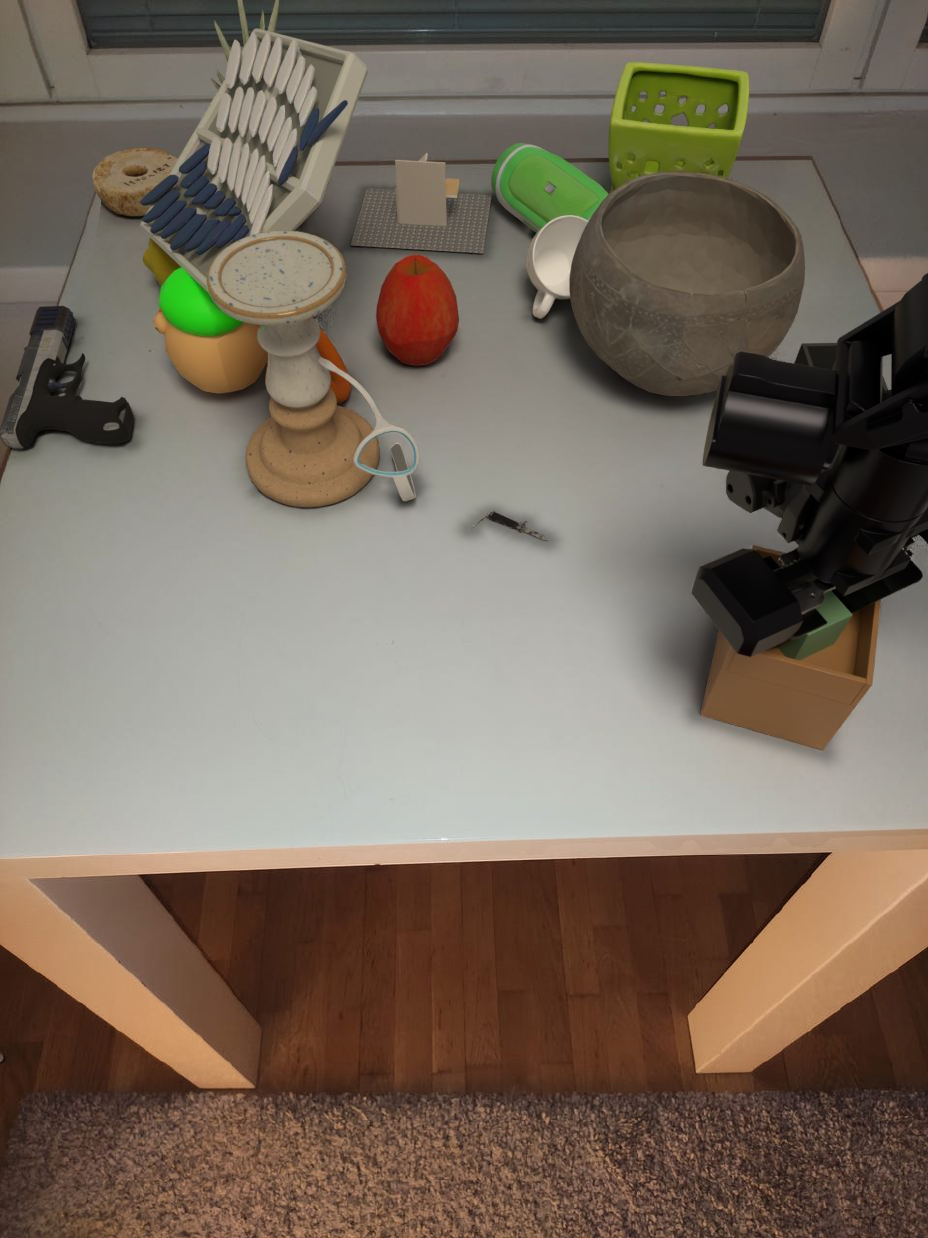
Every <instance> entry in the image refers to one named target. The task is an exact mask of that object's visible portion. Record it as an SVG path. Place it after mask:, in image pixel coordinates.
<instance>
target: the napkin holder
mask: <svg viewBox="0 0 928 1238" xmlns="http://www.w3.org/2000/svg"><path fill="white" fill-rule="evenodd" d="M428 156H429V152H426V153H424V154H423V155H422V156H421V158H419V159H418V160H410V159H409V160H408V159H407V160H405V159H395V160H394V168H395V180H396V181H395V182H396V185H395V189H393V190H394V191H395V205H396V219H397V222H398V223H399V224H415V225H430V226H447V225H448V216H447V198H450V199H457V198H458V196H459V194H460V193H459V191H460V184H461V178H446V177H447V175H446V174H447V173H446V162H445V161H444V162H443V161H441V162H440V161H429V160H428Z"/></svg>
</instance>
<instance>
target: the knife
mask: <svg viewBox="0 0 928 1238" xmlns="http://www.w3.org/2000/svg"><path fill="white" fill-rule="evenodd" d="M484 518H487V519H488V520H490V521H492V522H495V523H498V524H501V525H503V526H506V527H509V528H510V529H513V530H517V531H518V533H527V534H529V535H532V536H534V537H536V538H538V539H540V540H543V541H549V538H548V537H547V536H546V535H544V534H542V533H540V532H538V531H536V530H533V529H532V528H530V527H528V526H526V523H528V520H524V521H520V522H518V521H516V520H514V519H511V518H509V517H507V516H505V515H502V514H500V513H498V512H496V511H495V510H493V511H490V513H486V514H485V515H483V516H482V517H481V518H480V519H479V520H477V522H476V523H475V524H473V525H472V527H471V529H472V528H473V529H474V527H476V525H478V524H480V522H481V521H483V520H484Z"/></svg>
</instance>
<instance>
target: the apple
mask: <svg viewBox="0 0 928 1238" xmlns="http://www.w3.org/2000/svg"><path fill="white" fill-rule="evenodd" d="M375 311H376V312H375V317H376V318H375V321H376V327H377V331H378V335H379V336H380V338H381V339H382V342H383V343H384V345H385V347H386V348H387V351H388V352H389V353H391V354H392V355H393V356H394V357H395V358H396V359H397V360H399V361H400V362H401V363H403V364H405V365H410V366H415V367H416V366H422V365H423V366H424V365H429V364H431V363H433V362H434V361H436V360H438V359H439V358H441V356H442V355H443V353H444V352H445V350H446V349H447V348H448V346H449V345H450V344H451V342H452V341H453V339H454V338H455V336H456V335H457V332H458V329H459V323H460V315H459V308H458V299H457V295H456V293H455V290H454V287H453V285H452V282H451V280H450V279H449V277H448V275H447V274H446V273H445V271H444V270H443V269H442V268H441V267H440V266H439V265H438V264H437V263H436V262H434V261H432V260H431V259H429V258H428V257H427V256H424V255H421V254H410V255H408V256H405V257H403V258H402V259H400V260H399V261H397V262H395V263H394V264H393V266H391V269H390V270H389V271H388V273H387V275H386V276H385V278H384V280H383V282H382V284H381V287H380V291H379V295H378V300H377V303H376V310H375Z"/></svg>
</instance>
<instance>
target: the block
mask: <svg viewBox="0 0 928 1238" xmlns="http://www.w3.org/2000/svg"><path fill="white" fill-rule="evenodd" d="M823 596H824V601H823V603H822V604H821V606H820V607H818V608H816V609H817V610H818V612H819V613H820V614H821V615H822V616H823V617H824V619H825V620H826V621H827V624H826V625H824V626H822V627H820V628H818V629H816V630H814V631H812V632H810V633H808V634H806V635H804V636H802V637H800V638H798V639H796V640H794V641H792V642H790V643H787V644H785V645H783V646H781V647H779V649H780V651H781V652H782V653H783V654H784V656H785V657H788V658H792V659H796V660H799V661H800V660H802V659H804V658H806V657H808V656H810V655H812V654H815V653H817V652H819V651H821V650H823V649H825V648H827V647H829V646H832V645H834V644H835V642H836V641H837V639H838V637H839V636H840V634H841V633H842V631H843V629H844V628H845V626H846V625H847V623H848V622H849V620H850V618H851V617H852V614H851V613H850V611H849V610H848V609H847V608H846V607H845V606H844V605H843V603H842V602H841V601H840V600H839V599H838V598H837V597H836V595H835V594H834V593H833V592H832V591H829V592H827V593H825V594H823Z"/></svg>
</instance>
